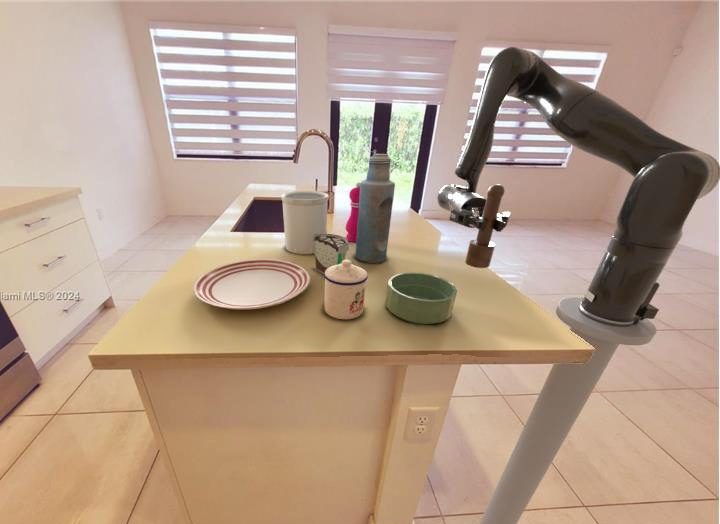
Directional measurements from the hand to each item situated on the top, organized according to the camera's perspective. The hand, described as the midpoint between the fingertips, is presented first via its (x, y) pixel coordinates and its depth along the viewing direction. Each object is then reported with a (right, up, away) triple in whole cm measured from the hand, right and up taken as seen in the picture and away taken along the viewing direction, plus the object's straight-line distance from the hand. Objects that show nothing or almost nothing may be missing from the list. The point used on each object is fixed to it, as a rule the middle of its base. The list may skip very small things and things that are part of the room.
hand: (492, 226), depth 66 cm
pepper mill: (-23, +6, +50) cm, 56 cm away
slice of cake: (-32, -8, +23) cm, 40 cm away
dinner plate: (-52, -13, +12) cm, 55 cm away
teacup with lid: (-30, -17, +5) cm, 35 cm away
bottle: (-20, -3, +34) cm, 39 cm away
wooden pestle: (0, -7, +7) cm, 10 cm away
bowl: (-14, -18, +5) cm, 23 cm away
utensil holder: (-41, +2, +41) cm, 58 cm away
